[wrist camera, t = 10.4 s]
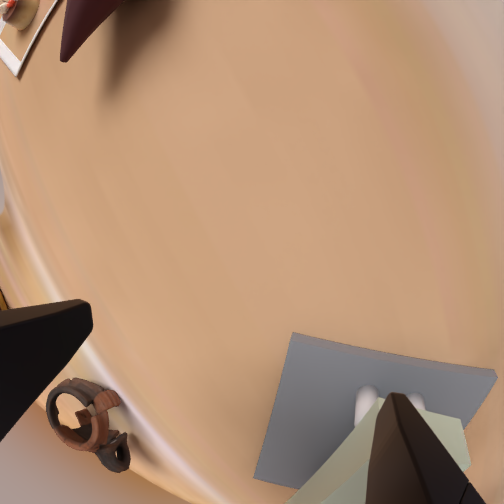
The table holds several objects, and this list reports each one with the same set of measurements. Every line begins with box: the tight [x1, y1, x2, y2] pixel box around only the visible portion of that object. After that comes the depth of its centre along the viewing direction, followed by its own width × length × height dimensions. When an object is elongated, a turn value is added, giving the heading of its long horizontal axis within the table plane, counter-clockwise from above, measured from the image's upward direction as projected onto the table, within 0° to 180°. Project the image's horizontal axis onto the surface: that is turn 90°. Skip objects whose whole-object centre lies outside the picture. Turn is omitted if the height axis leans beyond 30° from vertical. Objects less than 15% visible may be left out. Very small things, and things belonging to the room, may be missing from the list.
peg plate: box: [253, 332, 498, 489], centre depth 20 cm, size 16×18×4 cm
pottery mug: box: [46, 378, 131, 473], centre depth 28 cm, size 12×10×8 cm
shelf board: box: [285, 397, 471, 504], centre depth 16 cm, size 6×16×4 cm, turn 164°
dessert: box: [0, 0, 58, 77], centre depth 18 cm, size 12×12×5 cm
